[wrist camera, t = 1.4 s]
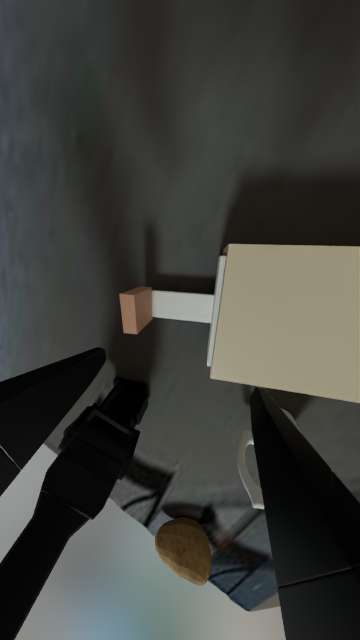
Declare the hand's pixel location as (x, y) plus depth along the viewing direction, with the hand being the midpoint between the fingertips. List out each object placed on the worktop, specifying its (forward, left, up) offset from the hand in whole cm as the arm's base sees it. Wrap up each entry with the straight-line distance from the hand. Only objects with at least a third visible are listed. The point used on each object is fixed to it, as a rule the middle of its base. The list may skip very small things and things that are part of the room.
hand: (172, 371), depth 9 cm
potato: (+2, -66, -14) cm, 67 cm away
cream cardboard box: (+11, 0, -13) cm, 17 cm away
